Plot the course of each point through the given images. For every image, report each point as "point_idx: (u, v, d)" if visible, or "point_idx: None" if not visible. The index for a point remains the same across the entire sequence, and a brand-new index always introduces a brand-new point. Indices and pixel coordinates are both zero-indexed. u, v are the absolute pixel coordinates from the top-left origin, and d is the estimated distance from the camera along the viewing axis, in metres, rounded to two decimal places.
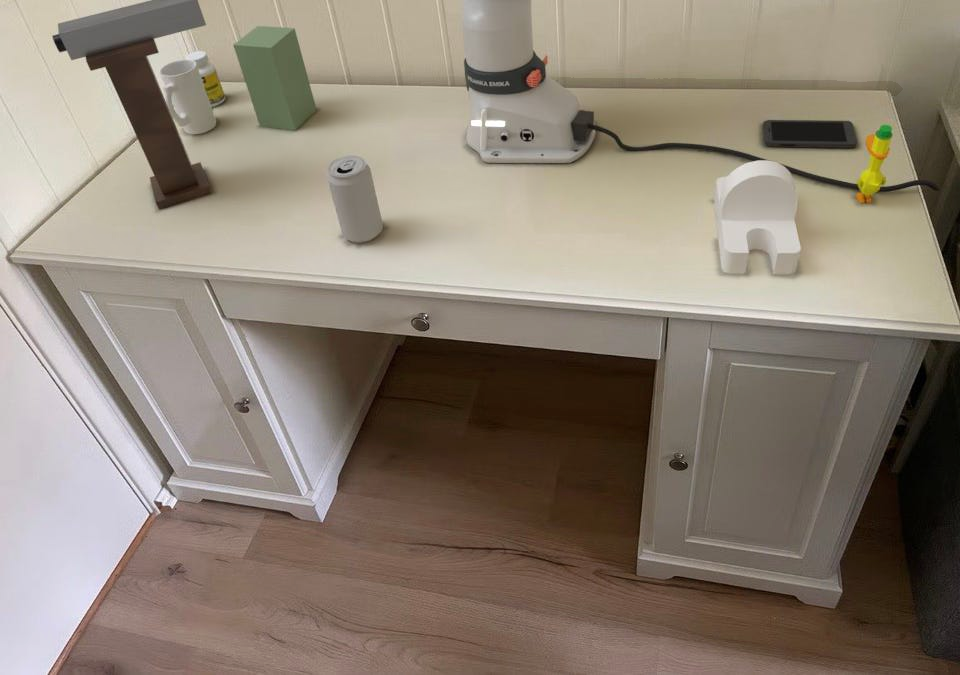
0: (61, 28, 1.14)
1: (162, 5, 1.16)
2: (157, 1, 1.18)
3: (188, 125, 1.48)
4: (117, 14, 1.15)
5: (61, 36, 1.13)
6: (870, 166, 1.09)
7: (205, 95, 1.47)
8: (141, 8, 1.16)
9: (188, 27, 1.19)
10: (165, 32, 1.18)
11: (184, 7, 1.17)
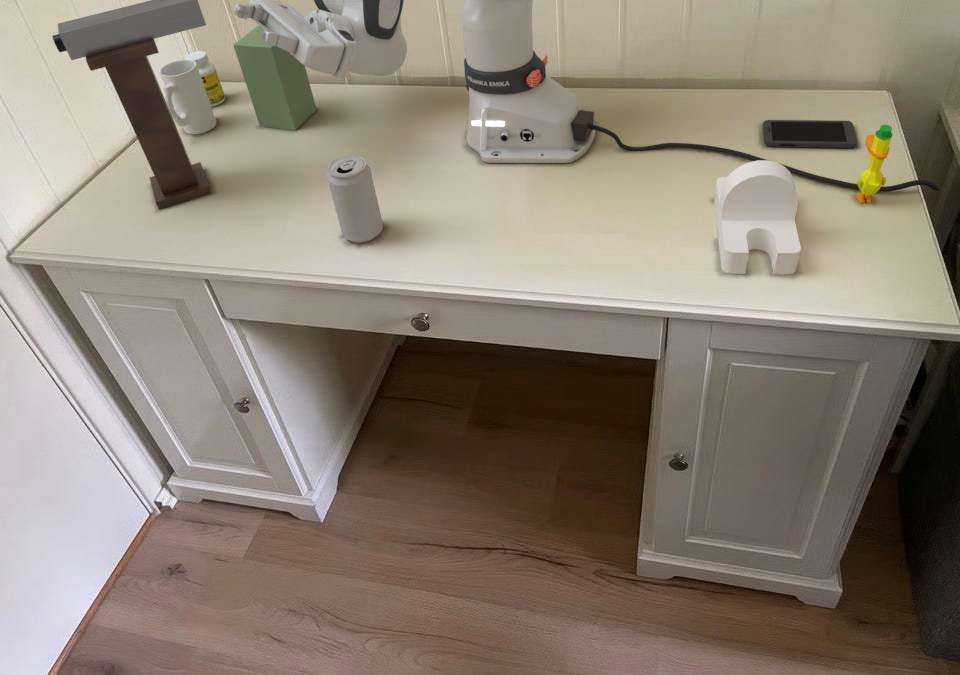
0: (61, 28, 1.14)
1: (162, 5, 1.16)
2: (157, 1, 1.18)
3: (188, 125, 1.48)
4: (117, 14, 1.15)
5: (61, 36, 1.13)
6: (870, 166, 1.09)
7: (205, 95, 1.47)
8: (141, 8, 1.16)
9: (188, 27, 1.19)
10: (165, 32, 1.18)
11: (184, 7, 1.17)
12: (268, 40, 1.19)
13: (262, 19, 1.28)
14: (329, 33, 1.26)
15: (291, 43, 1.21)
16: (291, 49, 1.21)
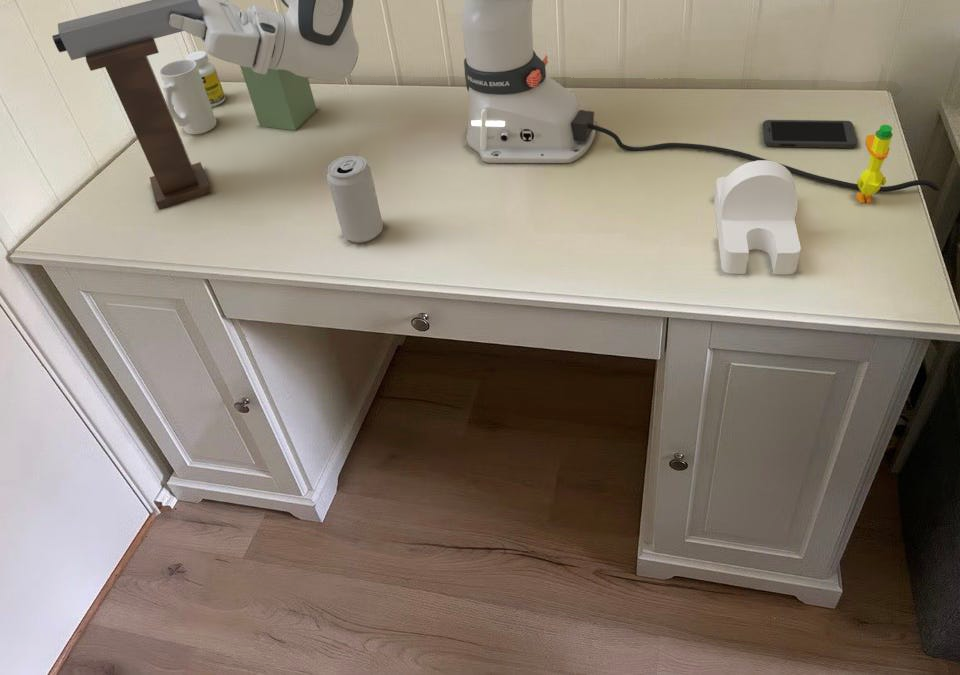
0: (61, 28, 1.14)
1: (162, 5, 1.16)
2: (157, 1, 1.18)
3: (188, 125, 1.48)
4: (117, 14, 1.15)
5: (61, 36, 1.13)
6: (870, 166, 1.09)
7: (205, 95, 1.47)
8: (141, 8, 1.16)
9: None
10: (165, 32, 1.18)
11: (184, 7, 1.17)
12: (171, 22, 1.16)
13: None
14: (249, 25, 1.20)
15: (196, 27, 1.17)
16: (197, 33, 1.17)
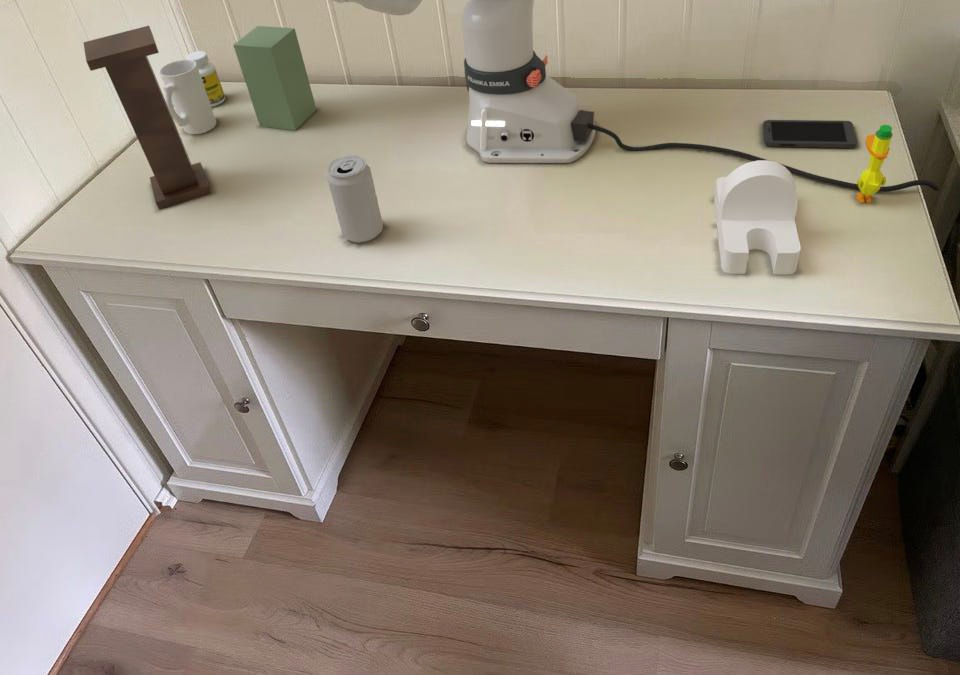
0: None
1: None
2: None
3: (188, 125, 1.48)
4: None
5: None
6: (870, 166, 1.09)
7: (205, 95, 1.47)
8: None
9: None
10: None
11: None
12: None
13: None
14: None
15: None
16: None
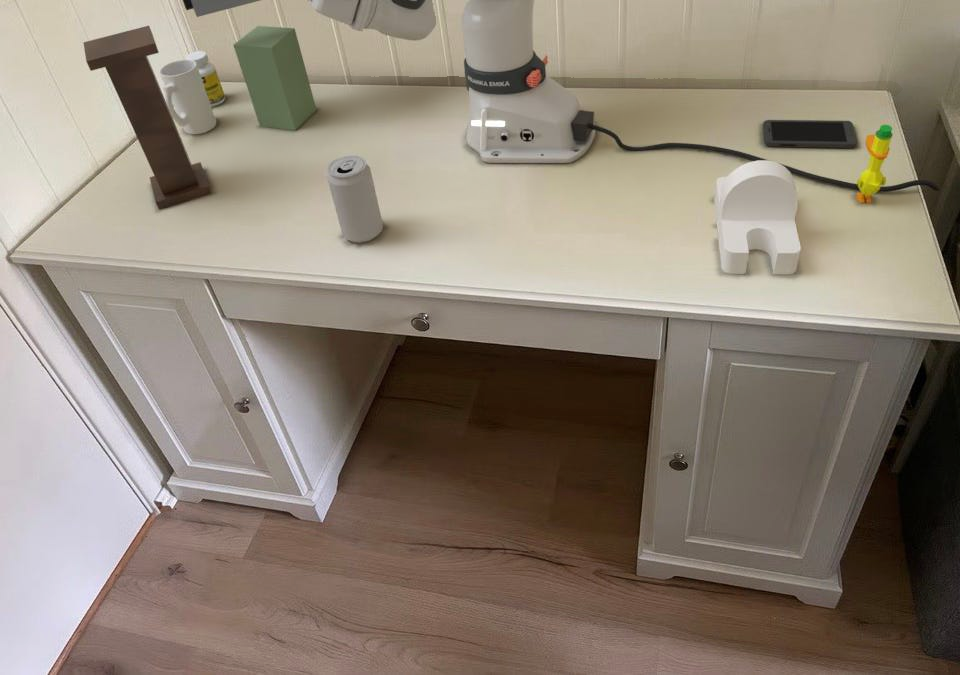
0: None
1: None
2: None
3: (188, 125, 1.48)
4: None
5: None
6: (870, 166, 1.09)
7: (205, 95, 1.47)
8: None
9: None
10: None
11: None
12: None
13: None
14: None
15: None
16: None
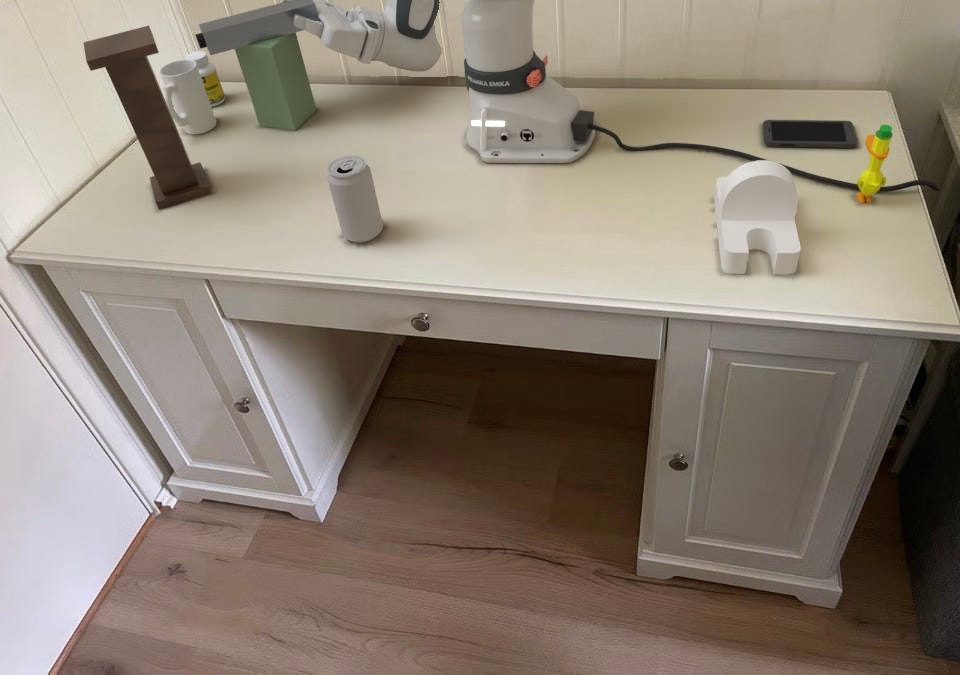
0: (203, 28, 1.35)
1: (286, 8, 1.37)
2: (280, 5, 1.39)
3: (188, 125, 1.48)
4: (248, 16, 1.37)
5: (204, 35, 1.34)
6: (870, 166, 1.09)
7: (205, 95, 1.47)
8: (268, 11, 1.37)
9: None
10: (287, 31, 1.39)
11: (304, 11, 1.38)
12: (296, 23, 1.35)
13: None
14: (357, 22, 1.40)
15: (317, 27, 1.36)
16: (317, 32, 1.37)
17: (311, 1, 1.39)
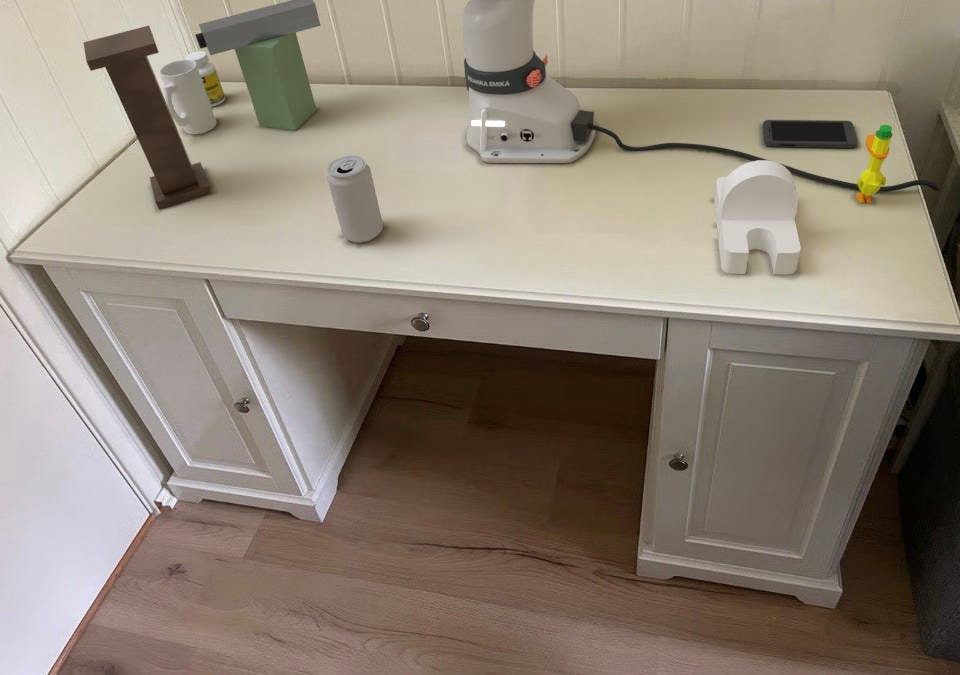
0: (203, 28, 1.35)
1: (286, 8, 1.37)
2: (280, 5, 1.39)
3: (188, 125, 1.48)
4: (248, 16, 1.37)
5: (204, 35, 1.34)
6: (870, 166, 1.09)
7: (205, 95, 1.47)
8: (268, 11, 1.37)
9: (306, 27, 1.40)
10: (287, 31, 1.39)
11: (304, 11, 1.38)
12: None
13: None
14: None
15: None
16: None
17: (311, 1, 1.39)
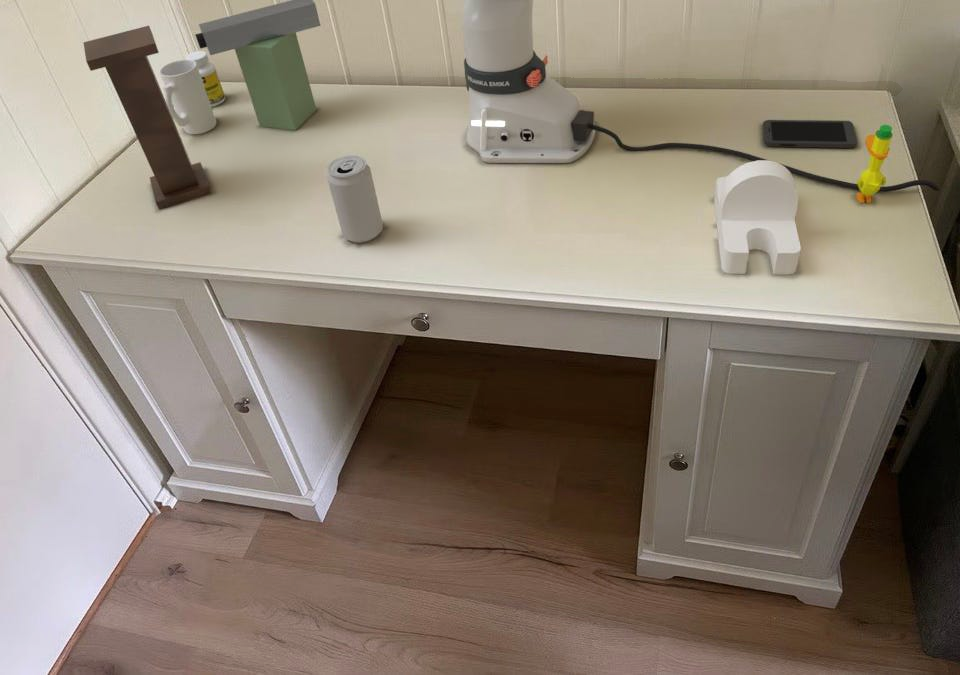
0: (203, 28, 1.35)
1: (286, 8, 1.37)
2: (280, 5, 1.39)
3: (188, 125, 1.48)
4: (248, 16, 1.37)
5: (204, 35, 1.34)
6: (870, 166, 1.09)
7: (205, 95, 1.47)
8: (268, 11, 1.37)
9: (306, 27, 1.40)
10: (287, 31, 1.39)
11: (304, 11, 1.38)
12: None
13: None
14: None
15: None
16: None
17: (311, 1, 1.39)
